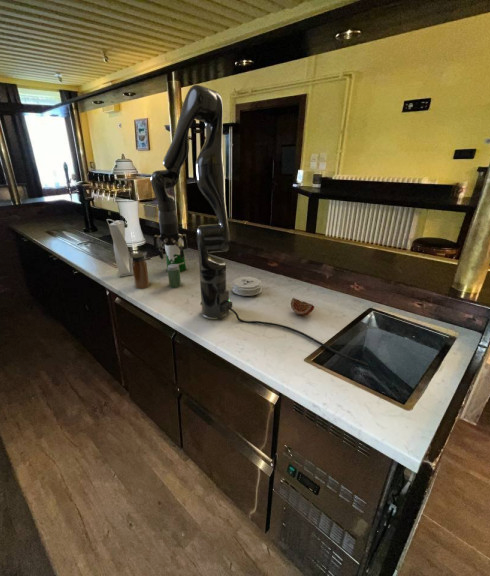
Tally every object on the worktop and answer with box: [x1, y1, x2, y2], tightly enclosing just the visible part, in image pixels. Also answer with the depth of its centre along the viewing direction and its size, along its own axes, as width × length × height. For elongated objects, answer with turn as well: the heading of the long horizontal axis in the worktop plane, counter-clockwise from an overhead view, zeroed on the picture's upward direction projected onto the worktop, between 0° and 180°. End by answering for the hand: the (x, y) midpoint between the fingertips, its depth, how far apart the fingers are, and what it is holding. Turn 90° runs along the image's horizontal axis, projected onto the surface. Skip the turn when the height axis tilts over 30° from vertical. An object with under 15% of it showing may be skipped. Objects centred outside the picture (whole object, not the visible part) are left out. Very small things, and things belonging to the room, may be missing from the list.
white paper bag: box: [106, 218, 134, 278], centre depth 147 cm, size 8×8×28 cm
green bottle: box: [166, 264, 182, 289], centre depth 135 cm, size 5×5×10 cm
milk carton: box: [164, 233, 187, 273], centre depth 150 cm, size 9×9×20 cm
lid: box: [231, 276, 263, 297], centre depth 127 cm, size 13×13×5 cm
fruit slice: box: [290, 297, 315, 316], centre depth 109 cm, size 8×7×5 cm
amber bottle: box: [131, 253, 150, 289], centre depth 135 cm, size 6×6×14 cm
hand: (172, 258), depth 132 cm, fingers open, 8 cm apart
